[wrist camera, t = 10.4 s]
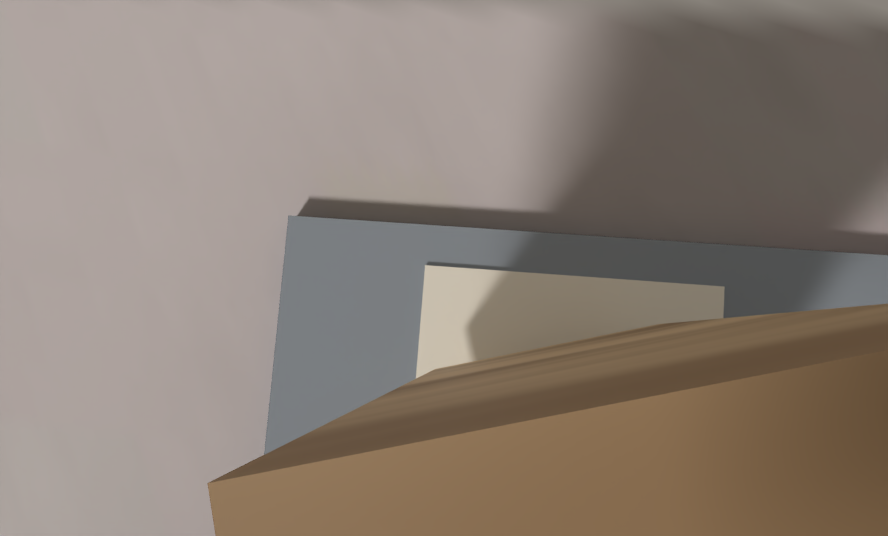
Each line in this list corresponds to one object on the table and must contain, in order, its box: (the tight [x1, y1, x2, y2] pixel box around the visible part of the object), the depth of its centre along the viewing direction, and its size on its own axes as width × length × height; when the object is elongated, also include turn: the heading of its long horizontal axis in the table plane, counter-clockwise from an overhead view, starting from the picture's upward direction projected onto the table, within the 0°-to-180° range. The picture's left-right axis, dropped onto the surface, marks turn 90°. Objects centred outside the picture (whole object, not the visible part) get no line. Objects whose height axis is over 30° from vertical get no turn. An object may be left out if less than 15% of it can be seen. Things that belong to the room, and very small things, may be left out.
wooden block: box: [208, 304, 888, 536], centre depth 9 cm, size 4×5×12 cm
